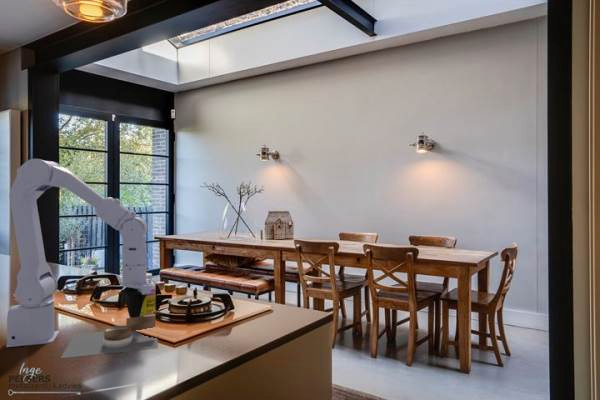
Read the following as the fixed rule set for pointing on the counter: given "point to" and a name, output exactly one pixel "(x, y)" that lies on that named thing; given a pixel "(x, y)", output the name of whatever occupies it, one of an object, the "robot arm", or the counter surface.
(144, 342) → the mat
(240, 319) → the counter surface
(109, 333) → the cap
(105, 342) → the jar
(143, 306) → the supplement bottle
